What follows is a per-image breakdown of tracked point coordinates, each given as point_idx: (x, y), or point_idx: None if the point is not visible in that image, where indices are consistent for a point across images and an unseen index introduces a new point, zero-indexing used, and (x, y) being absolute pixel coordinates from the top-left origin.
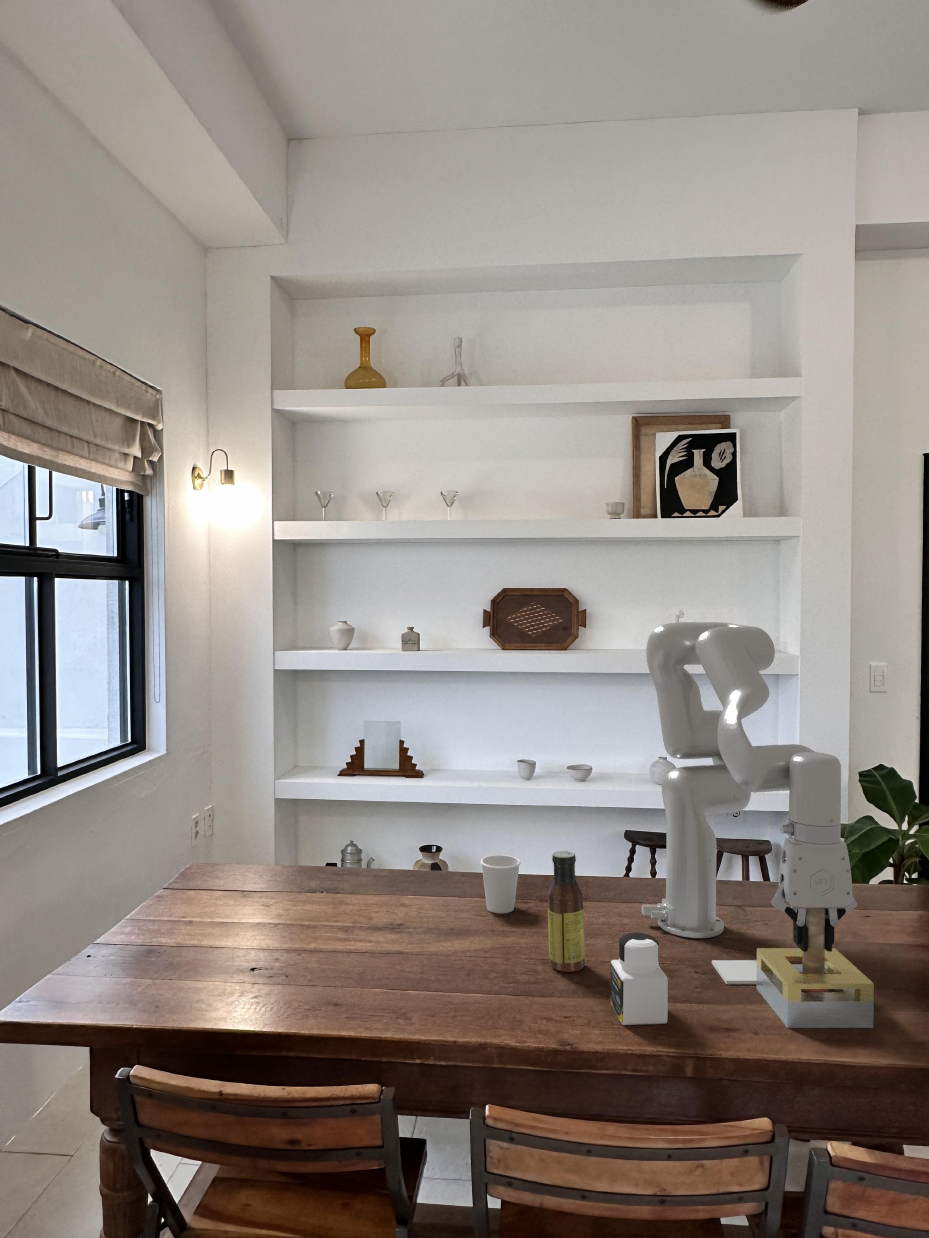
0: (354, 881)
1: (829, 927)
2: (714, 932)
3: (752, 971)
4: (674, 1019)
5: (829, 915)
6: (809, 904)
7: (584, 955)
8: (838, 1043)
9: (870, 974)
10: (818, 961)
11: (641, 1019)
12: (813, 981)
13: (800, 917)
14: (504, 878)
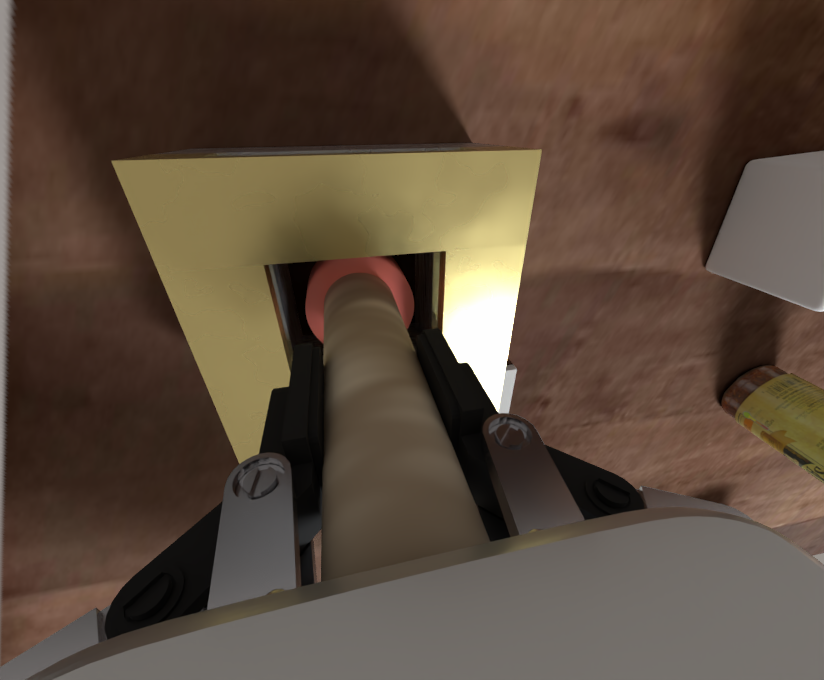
0: (807, 538)
1: (303, 433)
2: None
3: None
4: (715, 186)
5: (294, 522)
6: (600, 572)
7: (751, 399)
8: (348, 19)
9: (147, 458)
10: (361, 310)
11: (817, 153)
12: (421, 179)
13: (528, 461)
14: None
